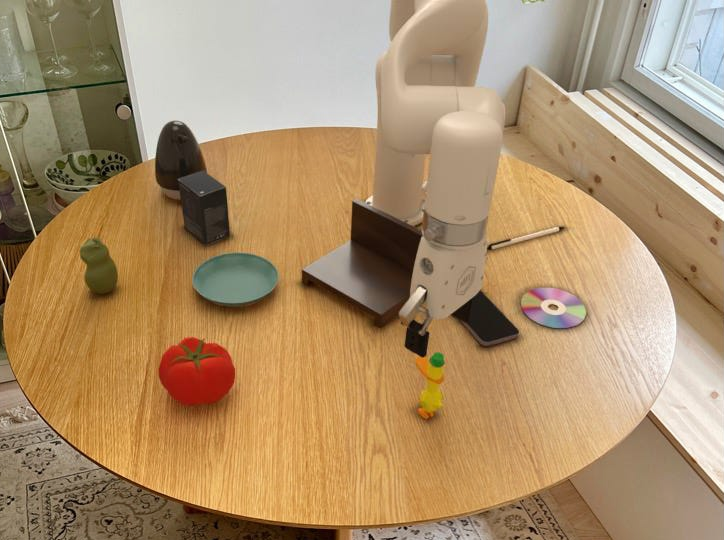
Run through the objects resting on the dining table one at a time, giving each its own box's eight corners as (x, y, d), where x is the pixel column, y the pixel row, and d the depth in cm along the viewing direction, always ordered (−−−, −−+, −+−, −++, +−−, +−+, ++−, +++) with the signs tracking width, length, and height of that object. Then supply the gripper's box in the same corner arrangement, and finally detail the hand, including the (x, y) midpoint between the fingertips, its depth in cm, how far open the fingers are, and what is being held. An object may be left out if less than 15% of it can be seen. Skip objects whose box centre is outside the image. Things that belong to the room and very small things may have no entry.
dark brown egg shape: (169, 212, 147) (158, 139, 137) (151, 187, 154) (139, 116, 143) (217, 199, 151) (210, 128, 140) (198, 176, 157) (190, 106, 147)
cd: (555, 280, 135) (555, 280, 135) (600, 315, 128) (600, 315, 128) (507, 299, 130) (507, 299, 130) (551, 336, 124) (551, 336, 124)
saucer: (295, 279, 133) (294, 267, 131) (248, 326, 123) (247, 313, 122) (225, 255, 137) (224, 242, 136) (176, 297, 128) (174, 285, 126)
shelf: (354, 250, 140) (356, 198, 132) (431, 291, 132) (438, 238, 124) (301, 283, 132) (301, 229, 124) (380, 329, 124) (384, 274, 116)
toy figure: (402, 403, 112) (409, 342, 103) (421, 394, 113) (429, 333, 105) (429, 431, 108) (439, 371, 100) (449, 422, 109) (460, 361, 101)
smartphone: (475, 283, 133) (522, 333, 122) (474, 289, 133) (521, 338, 123) (438, 292, 130) (483, 343, 120) (438, 298, 131) (482, 349, 121)
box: (231, 236, 142) (226, 186, 134) (205, 246, 139) (199, 196, 132) (209, 218, 146) (203, 168, 139) (183, 228, 143) (176, 177, 136)
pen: (482, 249, 142) (483, 244, 141) (563, 227, 148) (564, 223, 147) (484, 252, 141) (485, 247, 140) (565, 230, 148) (567, 225, 147)
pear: (109, 302, 127) (97, 253, 120) (81, 296, 128) (68, 246, 121) (126, 283, 130) (115, 234, 123) (98, 277, 131) (86, 228, 124)
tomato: (241, 413, 109) (236, 370, 103) (164, 423, 107) (155, 380, 101) (233, 364, 117) (229, 321, 111) (161, 373, 115) (153, 329, 109)
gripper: (436, 265, 81) (420, 380, 93) (521, 206, 91) (497, 317, 103) (383, 238, 85) (374, 352, 97) (470, 184, 94) (452, 294, 106)
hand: (437, 334), depth 100 cm, fingers open, 9 cm apart
